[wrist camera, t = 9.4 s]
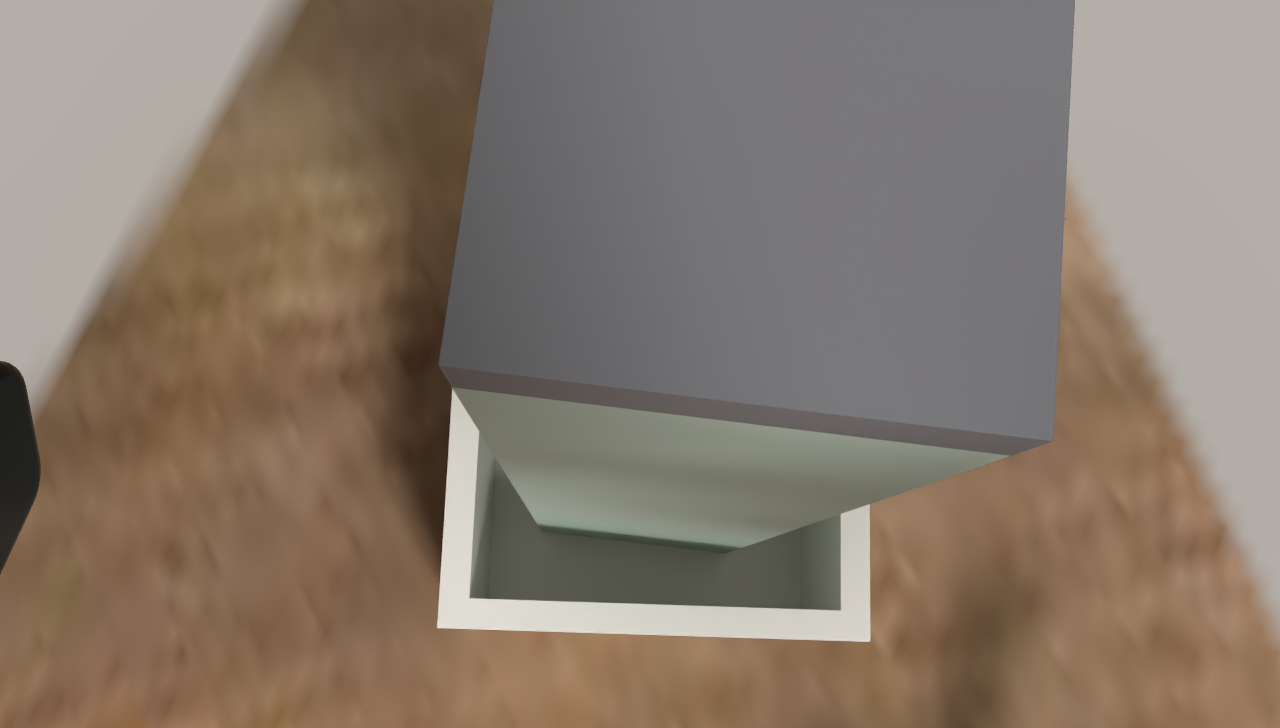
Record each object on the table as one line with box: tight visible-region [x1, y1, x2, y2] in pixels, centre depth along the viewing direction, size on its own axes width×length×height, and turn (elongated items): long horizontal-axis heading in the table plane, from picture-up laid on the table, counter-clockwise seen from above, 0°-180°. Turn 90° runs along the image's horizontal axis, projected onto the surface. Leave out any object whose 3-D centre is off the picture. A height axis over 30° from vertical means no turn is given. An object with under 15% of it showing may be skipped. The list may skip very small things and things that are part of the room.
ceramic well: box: [437, 389, 870, 642], centre depth 19 cm, size 6×6×4 cm
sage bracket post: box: [438, 0, 1075, 553], centre depth 13 cm, size 3×3×14 cm
